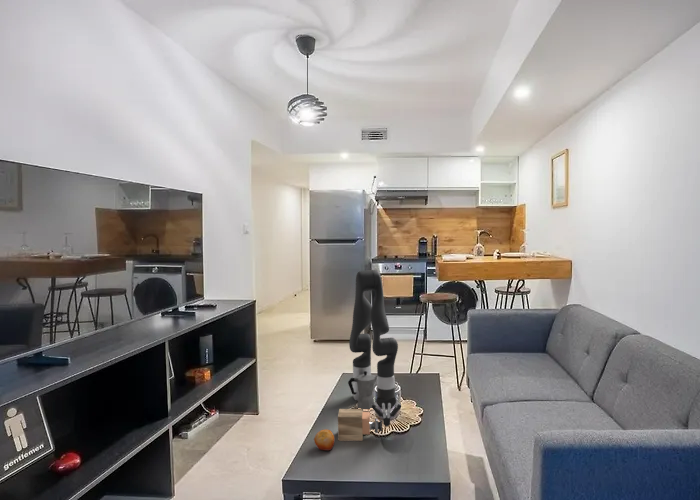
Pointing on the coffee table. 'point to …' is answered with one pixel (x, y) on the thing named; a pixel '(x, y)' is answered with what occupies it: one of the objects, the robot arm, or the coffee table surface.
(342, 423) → the wooden block
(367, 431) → the block
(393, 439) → the coffee table surface
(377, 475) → the coffee table surface
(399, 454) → the coffee table surface
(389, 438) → the coffee table surface
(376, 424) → the shaft
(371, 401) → the coffeepot
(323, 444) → the fruit
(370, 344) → the robot arm
